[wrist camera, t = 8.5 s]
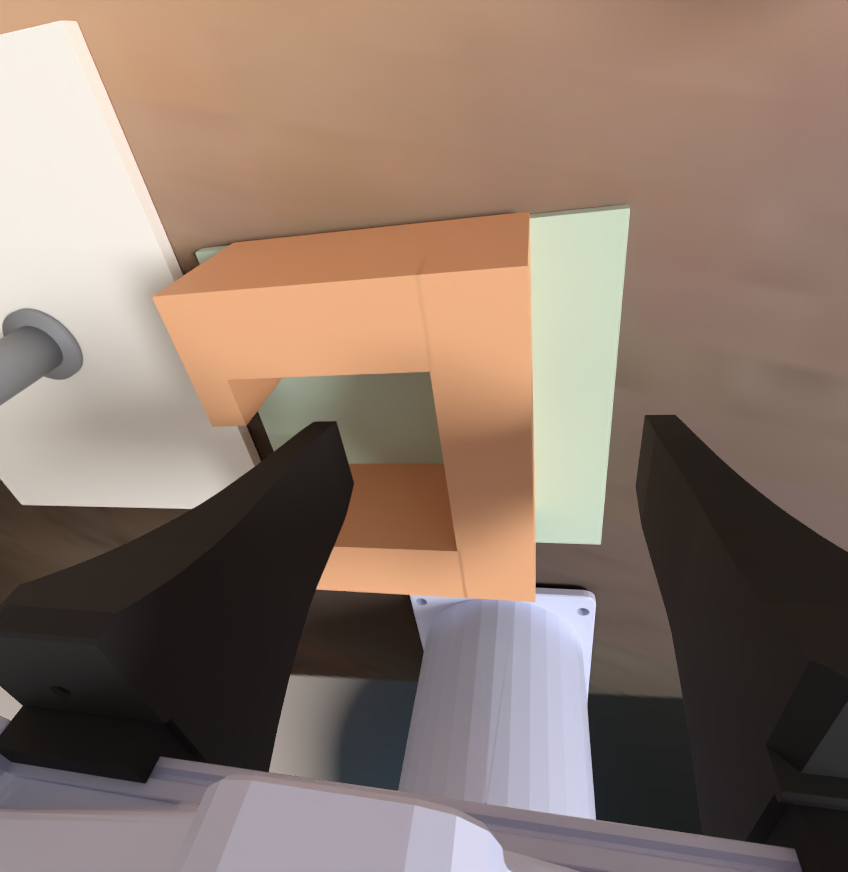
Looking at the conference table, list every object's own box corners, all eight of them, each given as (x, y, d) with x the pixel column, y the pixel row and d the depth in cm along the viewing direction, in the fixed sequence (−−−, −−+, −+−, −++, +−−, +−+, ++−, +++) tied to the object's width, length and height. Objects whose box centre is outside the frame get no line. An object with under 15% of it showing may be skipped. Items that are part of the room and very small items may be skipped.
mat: (599, 536, 20) (600, 544, 19) (309, 527, 22) (306, 534, 22) (627, 204, 13) (630, 208, 12) (201, 248, 15) (195, 252, 15)
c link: (325, 505, 21) (287, 587, 18) (233, 242, 15) (151, 296, 12) (535, 509, 19) (535, 602, 16) (529, 211, 13) (527, 266, 10)
